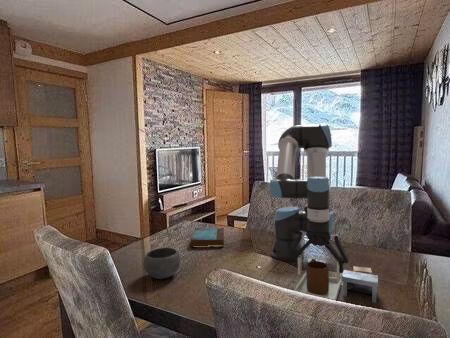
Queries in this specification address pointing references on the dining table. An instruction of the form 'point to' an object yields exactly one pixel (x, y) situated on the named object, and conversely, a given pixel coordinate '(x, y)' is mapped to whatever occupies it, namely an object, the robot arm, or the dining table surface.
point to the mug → (317, 277)
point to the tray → (332, 294)
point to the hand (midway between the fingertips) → (318, 277)
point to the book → (208, 236)
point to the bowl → (162, 262)
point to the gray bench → (360, 283)
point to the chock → (362, 270)
